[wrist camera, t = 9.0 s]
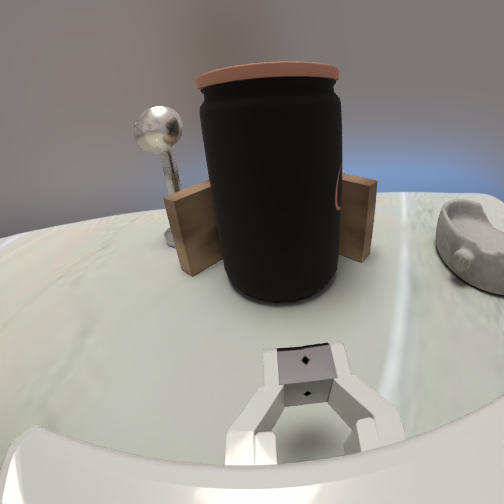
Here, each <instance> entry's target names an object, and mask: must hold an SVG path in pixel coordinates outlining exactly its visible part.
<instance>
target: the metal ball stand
mask: <svg viewBox="0 0 504 504" xmlns="http://www.w3.org/2000/svg"><path fill="white" fill-rule="evenodd" d="M182 131H183V124H182V120H181V118H180V116H179V115H178V113H177V112H176V111H174V110H173V109H171V108H169V107H164V106H159V107H153V108H150V109H147V110H145V111H144V112H143V113H142V114H141V115H140V116H139V117H138V119H137V120H136V123H135V126H134V135H135V139H136V141H137V143H138V144H139V146H140V147H141V148H142V149H144V150H145V151H147V152H150V153H160V155H161V160H162V165H163V170H164V175H165V180H166V184H167V189H168V194H169V195H171V194H174V193H176V192H179V191H181V185H180V180H179V175H178V170H177V164H176V159H175V153H174V148H173V146H174V145H175V144H176V143H177V142H178V141H179V139H180V137H181V135H182ZM164 235H165V239H166V243H167V244H168V245H169V246H171V247H175V243H174V239H173V235H172V232H171V228H169V229H168V230H167V231H166V232H165V234H164ZM175 248H176V247H175Z"/></svg>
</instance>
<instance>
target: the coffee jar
mask: <svg viewBox="0 0 504 504" xmlns="http://www.w3.org/2000/svg"><path fill="white" fill-rule="evenodd" d="M338 74H339V71H338V68H337V67H335V66H331V65H328V64H321V63H312V62H265V63H253V64H245V65H238V66H232V67H227V68H222V69H218V70H214V71H210V72H207V73H205V74H202V75H199V76H198V77H197V78H196V84H197V88H198V89H201V90H200V91H201V92H202V93H203V94H204V98H205V100H204V102H203V104H202V105H201V107H200V119H201V127H202V134H203V141H204V147H205V153H206V161H207V167H208V174H209V180H210V186H211V192H212V198H213V204H214V210H215V216H216V222H217V228H218V233H219V239H220V245H221V250H222V256H223V261H224V267H225V270H226V272H227V275H228V277H229V279H230V280H231V282H232V283H234V284H235V285H236V286H237V287H238V288H239V289H241V290H242V291H243V292H244V293H245V294H247V295H249V296H251V297H254V298H256V299H259V300H262V301H269V302H276V303H279V302H291V301H297V300H300V299H303V298H306V297H309V296H311V295H313V294H314V293H316V292H317V291H319V290H320V289H322V288H323V287H324V285H326V284H327V283H328V282H329V280H330V279H331V277H332V276H333V275H334V273H335V272H336V270H337V262H338V251H339V238H340V221H341V199H342V120H341V119H342V118H341V102H340V99H339V97H338V96H337V95H336V94H335V93H334V88H333V86H334V85H335V83H336V81H335V80H338V77H339V76H338Z"/></svg>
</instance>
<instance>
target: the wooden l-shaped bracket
mask: <svg viewBox="0 0 504 504" xmlns="http://www.w3.org/2000/svg"><path fill="white" fill-rule="evenodd" d="M376 191H377V181H376V180H372V179H367V178H363V177H359V176H353V175H349V174H345V173H342V199H341V221H340V238H339V251H338V254H341V255H344V256H346V257H349V258H352V259H354V260H357V261H359V262H362V261H363V260H364V259H365V258H366V257H367V256H368V255H369V254H370V247H371V239H372V231H373V223H374V214H375V203H376ZM164 203H165V207H166V211H167V216H168V220H169V224H170V228H171V232H172V235H173V239H174V243H175V247H176V250H177V254H178V258H179V261H180V265H181V268H182V270H184V271H185V272H186V273H188V274H189V275H191V276H194V275H196V274H197V273H199V272H201V271H202V270H204V269H206V268H207V267H209V266H211V265H212V264H214V263H216V262H218V261H219V260H221V259H223V256H222V250H221V245H220V239H219V233H218V228H217V222H216V216H215V210H214V204H213V198H212V192H211V186H210V180H207V181H205V182H202V183H199V184H197V185H194V186H192V187H189V188H187V189H184V190H181V191H179V192H176V193H174V194H171V195H169V196H167V197H164Z"/></svg>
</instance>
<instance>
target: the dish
mask: <svg viewBox="0 0 504 504" xmlns="http://www.w3.org/2000/svg"><path fill="white" fill-rule="evenodd" d="M436 246H437V249H438V252H439V254H440V256H441V258H442V259H443V260H444V262H445V263H446V265H447V266H448V267H449V268H450V269H451V270H452V271H453V272H454V273H455V274H456V275H457V276H459V277H460V278H461V279H463V280H464V281H466V282H467V283H469V284H471V285H473V286H475V287H477V288H480V289H482V290H485V291H488V292H491V293H496V294H501V295H504V233H503V232H501V231H499V230H498V229H496V228H494V227H493V226H492V225H491V223H490V222H489V220H488V218H487V216H486V215H485V213H484V211H483V208H482V205H481V204H480V203H478V202H475V201H470V200H464V199H457V200H451V201H449V202H446V203H445V204H444V205H443V207H442V209H441V212H440V215H439V218H438V223H437V230H436Z"/></svg>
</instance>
